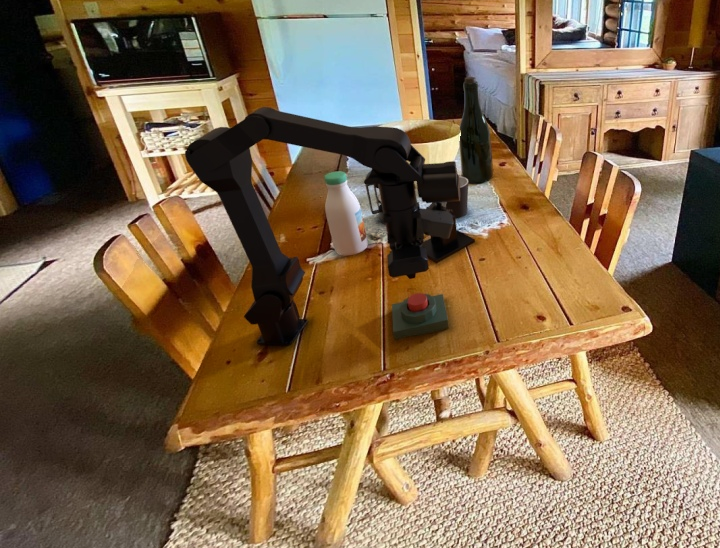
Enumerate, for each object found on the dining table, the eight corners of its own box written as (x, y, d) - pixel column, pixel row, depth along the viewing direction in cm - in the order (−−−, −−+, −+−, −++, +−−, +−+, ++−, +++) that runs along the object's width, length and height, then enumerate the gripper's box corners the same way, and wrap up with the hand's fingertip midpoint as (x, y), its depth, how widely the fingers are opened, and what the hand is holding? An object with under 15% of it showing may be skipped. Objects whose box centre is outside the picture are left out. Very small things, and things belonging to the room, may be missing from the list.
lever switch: (436, 264, 103) (432, 232, 99) (414, 250, 108) (409, 219, 104) (475, 243, 111) (472, 212, 107) (452, 231, 116) (449, 201, 112)
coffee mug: (474, 218, 122) (471, 186, 118) (443, 224, 119) (439, 191, 115) (464, 200, 132) (462, 170, 127) (436, 205, 129) (432, 174, 125)
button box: (394, 340, 82) (391, 324, 80) (393, 312, 88) (390, 297, 87) (449, 328, 84) (446, 312, 83) (443, 302, 91) (441, 286, 89)
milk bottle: (357, 258, 105) (339, 183, 96) (328, 255, 107) (308, 180, 98) (374, 241, 112) (359, 169, 103) (347, 238, 113) (330, 166, 104)
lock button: (409, 314, 83) (407, 307, 82) (408, 302, 86) (406, 295, 85) (428, 310, 84) (427, 302, 83) (426, 298, 87) (425, 291, 86)
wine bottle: (466, 186, 141) (457, 82, 126) (458, 174, 149) (448, 75, 134) (497, 180, 145) (492, 79, 130) (488, 169, 153) (481, 72, 138)
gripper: (455, 222, 69) (463, 300, 76) (441, 175, 85) (449, 244, 92) (380, 233, 66) (396, 313, 73) (380, 183, 82) (393, 253, 89)
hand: (412, 277), depth 82 cm, fingers closed
